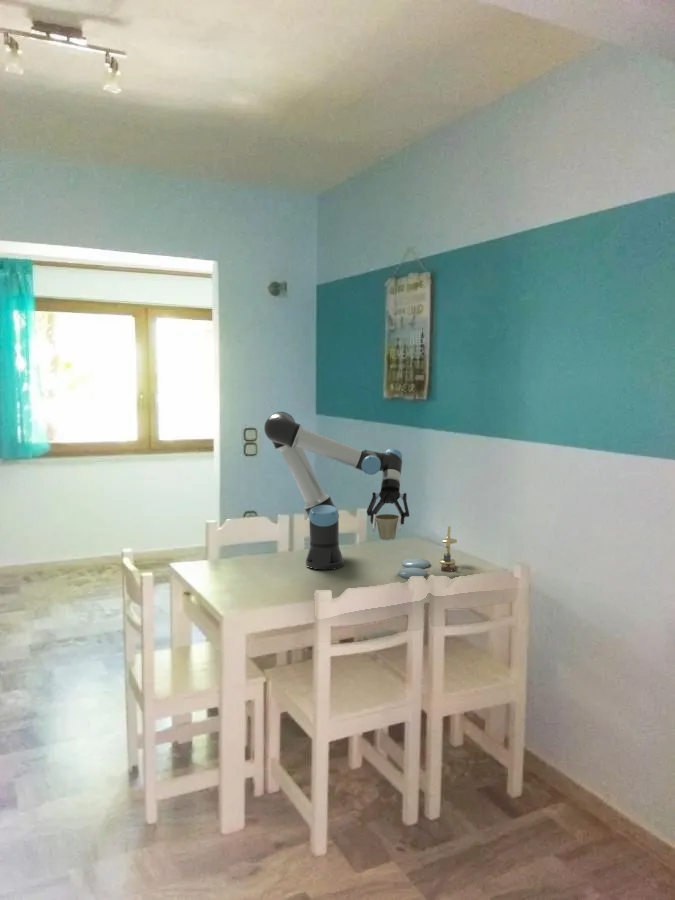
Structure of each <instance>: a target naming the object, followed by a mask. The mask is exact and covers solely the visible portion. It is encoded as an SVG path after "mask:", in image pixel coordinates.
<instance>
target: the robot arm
mask: <svg viewBox="0 0 675 900" xmlns="http://www.w3.org/2000/svg"><path fill="white" fill-rule="evenodd" d="M264 434H265V436H266V437H267V438H268V440H270V441H271V442H272V444H273V446H274V448H275V450H277V451H280V452H281V454H282V456H283V458H284V460H285V462H286V465H287V466H288V469H289V470H290V472H291V474H292V476H293V479H294V481H295V484H296V485H297V487H298V490H299V491H300V494H301V496H302V497H303V500H304V502H305V504H304V507H303V508H304V510H305V512H306V514H307V516H308V519H309V520H308V521H309V549H308V552H307V555H306V559H305V566H306V565H307V566H309V567H312V568H316V569H333V570H335V569H334V568H337V569H340V568H342V567H343V566H344V557H343V554H342V551H341V549H340V543H339V542H340V539H339V538H340V531H339V530H340V529H339V526H340V525H339V524H340V521H339V518H340V513H339V510H338V508H337V507H336V506H335V504H334V503H333V501H332V499H331V497H330V494H326V493H325V492H324V490H323V488H322V486H321V484H320V482H319V479H318V478H317V476H316V473H315V471H314V469H313V467H312V466H311V463H310V462H309V459H308V456H307V455H306V453H305V451H308V452H311V453H313V454H316V455H319V456H321V457H324V458H327V459H329V460H332V461H336V462H338V463H341V464H343V465H346V466H349V467H350V468H354V469H357V470H358V471H362V472H364V473H365V474H367V475H369V476H374V475H376V474H377V473H379V472H382V477H381V483H380V491H379V492H378V493H376V492H372V497H371V499H370V502H369V504H368V507H367V510H366V514H367V516H368V517H369V516H370V520H369V521H370V524H372V528H371V530H372V532H373V533H375V532H376V526H377V525H376V524H377V521H376V519H375V517H376V516H377V515H378V513H379V511H380V510H381V509H382V508H383V506H384V505H385V504H393V505H394V506H395V507H396V509H397V511H398V513H399V514H398V516H399V518H398V522H397V531H398V533H399V534H400V533H401V532H402V531H401V529H402V525H404V524H405V519H406V518H408V517H410V511H409V506H408V502H407V498H408V496H407V492H404V493H400V491H401V489H400V488H401V480H402V477H401V476H402V468H403V467H402V466H403V454H402V452H401V451H400V450H399V449H396V448H392V449H391V448H388V449H387V450H386V451H385V452H378V451H372V450H368V449H361V448H359V449H358V448H356V447H353V446H351V445H348V444H346V443H343V442H341V441H340V442H339V441H338V440H335V439H332V438H329V437H326V436H324V435H321V434H319V433H316V432H314V431H311V430H310V429H309V430H308V429H307V428H304V427H303V426H302V424H300V423H297V422H296V421H295V419H294V417H293V416H292V415H291V414H290V413H287V412H285V411H277V412H274V413H272V414H271V415H270V416H268V418H267V419H266V421H265V423H264ZM304 450H305V451H304ZM379 498H380V499H379ZM400 498H401V500H402V502H403V507H404V508H402V507H401V505H400V503H399V501H398V500H399V499H400ZM378 499H379V502H376V501H377V500H378ZM376 503H377V504H376ZM375 504H376V505H375ZM403 509H404V510H405V511H404V510H403ZM307 566H306V567H307ZM341 566H342V567H341ZM339 567H340V568H339Z"/></svg>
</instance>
